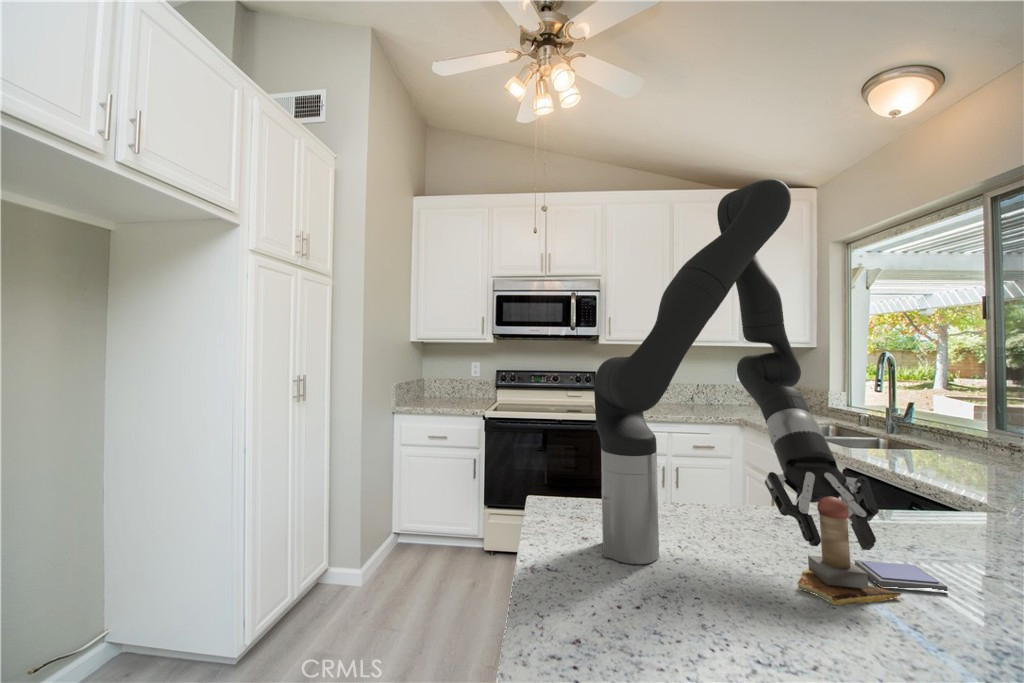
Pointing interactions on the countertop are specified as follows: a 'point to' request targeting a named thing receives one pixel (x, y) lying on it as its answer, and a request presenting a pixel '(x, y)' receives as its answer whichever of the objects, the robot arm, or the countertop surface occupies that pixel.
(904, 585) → the ink pad
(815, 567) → the stamp
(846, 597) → the brown flat slab
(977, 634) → the countertop surface
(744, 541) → the countertop surface
